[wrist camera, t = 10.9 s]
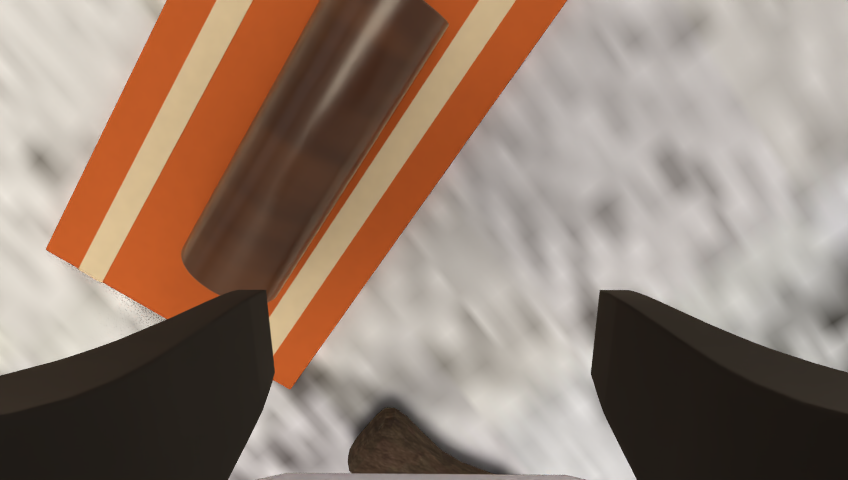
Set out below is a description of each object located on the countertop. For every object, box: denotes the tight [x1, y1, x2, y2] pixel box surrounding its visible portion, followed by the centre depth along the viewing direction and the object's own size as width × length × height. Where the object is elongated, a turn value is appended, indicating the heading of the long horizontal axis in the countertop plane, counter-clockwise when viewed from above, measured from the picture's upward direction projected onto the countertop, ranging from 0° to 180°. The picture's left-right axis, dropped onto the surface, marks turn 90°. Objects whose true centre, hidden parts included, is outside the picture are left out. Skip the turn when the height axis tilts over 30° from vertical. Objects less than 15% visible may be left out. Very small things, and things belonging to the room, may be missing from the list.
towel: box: [46, 0, 567, 389], centre depth 19 cm, size 20×11×1 cm, turn 145°
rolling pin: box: [181, 0, 449, 303], centre depth 17 cm, size 11×4×4 cm, turn 146°
